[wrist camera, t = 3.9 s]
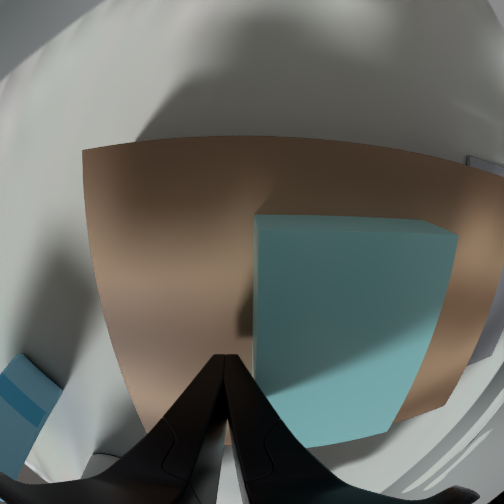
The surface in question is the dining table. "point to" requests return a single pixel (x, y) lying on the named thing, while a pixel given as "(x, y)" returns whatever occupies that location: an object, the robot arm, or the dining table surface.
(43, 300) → the dining table surface
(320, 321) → the teal foam pad
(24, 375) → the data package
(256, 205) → the brown flat block
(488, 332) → the mat
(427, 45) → the dining table surface
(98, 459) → the coffee cup
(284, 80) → the dining table surface
